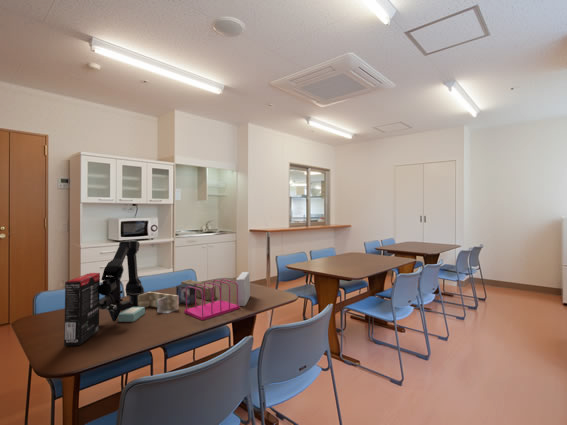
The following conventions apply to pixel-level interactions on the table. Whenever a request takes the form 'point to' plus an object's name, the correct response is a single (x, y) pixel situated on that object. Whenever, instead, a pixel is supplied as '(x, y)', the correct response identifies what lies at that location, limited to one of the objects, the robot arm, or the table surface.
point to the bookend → (163, 306)
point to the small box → (182, 293)
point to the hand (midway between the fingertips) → (114, 321)
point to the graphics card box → (81, 308)
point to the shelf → (152, 298)
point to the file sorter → (211, 304)
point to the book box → (131, 314)
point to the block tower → (198, 292)
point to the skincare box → (243, 288)
